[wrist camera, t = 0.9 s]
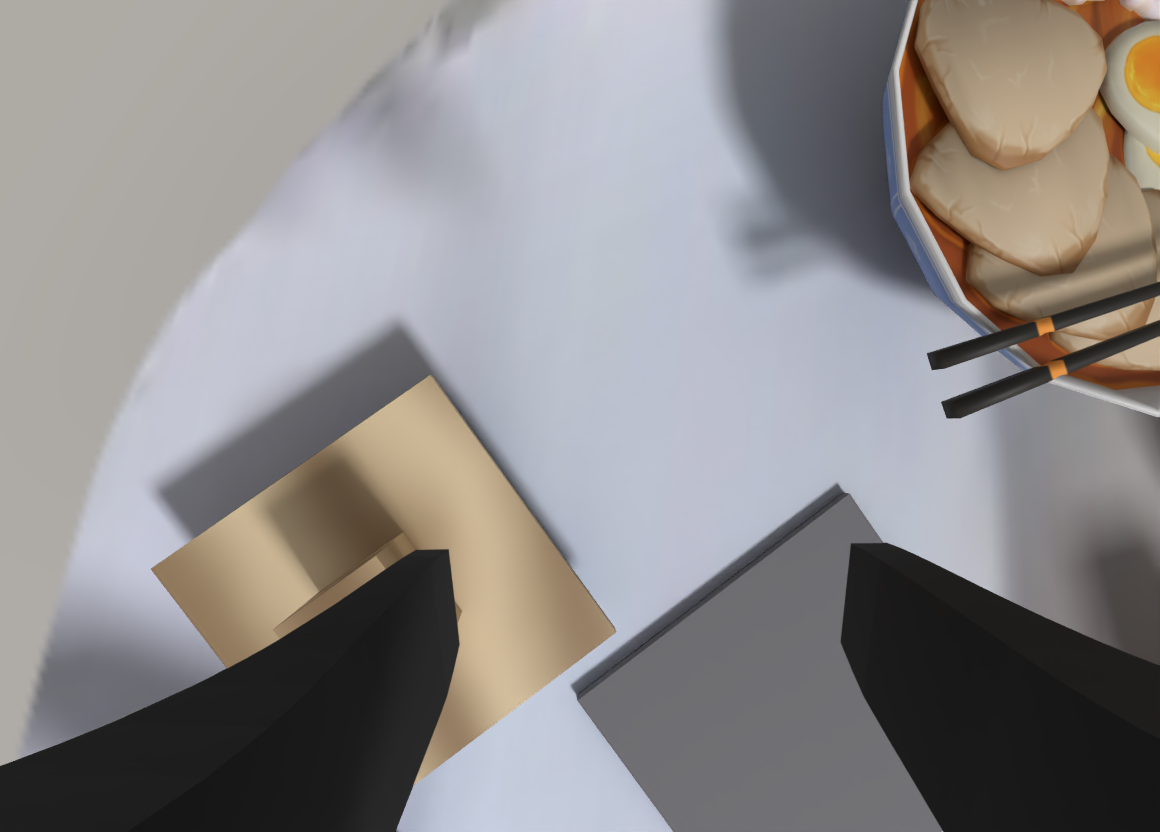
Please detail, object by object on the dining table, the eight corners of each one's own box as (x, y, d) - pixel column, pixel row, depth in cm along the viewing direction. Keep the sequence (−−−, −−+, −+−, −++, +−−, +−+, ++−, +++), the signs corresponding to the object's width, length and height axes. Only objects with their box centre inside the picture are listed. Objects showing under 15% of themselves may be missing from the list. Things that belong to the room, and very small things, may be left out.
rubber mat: (770, 959, 27) (774, 969, 26) (576, 695, 26) (577, 700, 26) (1022, 751, 28) (1031, 757, 28) (843, 492, 27) (849, 493, 27)
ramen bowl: (1166, -87, 29) (1414, -284, 21) (1286, 338, 29) (1574, 307, 21) (714, 30, 27) (794, -139, 19) (851, 484, 27) (987, 513, 19)
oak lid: (356, 820, 23) (312, 921, 18) (160, 565, 22) (64, 602, 18) (614, 626, 24) (633, 676, 19) (432, 376, 23) (408, 365, 19)
